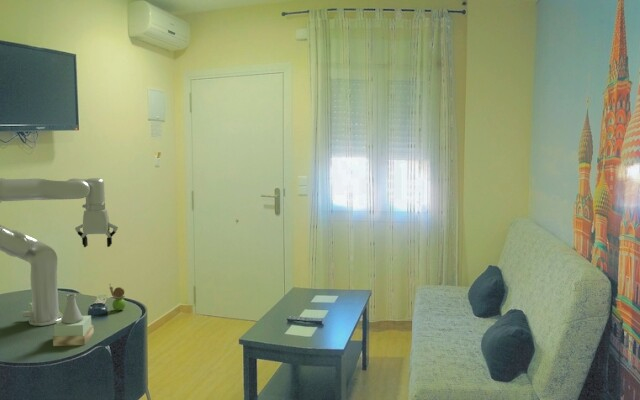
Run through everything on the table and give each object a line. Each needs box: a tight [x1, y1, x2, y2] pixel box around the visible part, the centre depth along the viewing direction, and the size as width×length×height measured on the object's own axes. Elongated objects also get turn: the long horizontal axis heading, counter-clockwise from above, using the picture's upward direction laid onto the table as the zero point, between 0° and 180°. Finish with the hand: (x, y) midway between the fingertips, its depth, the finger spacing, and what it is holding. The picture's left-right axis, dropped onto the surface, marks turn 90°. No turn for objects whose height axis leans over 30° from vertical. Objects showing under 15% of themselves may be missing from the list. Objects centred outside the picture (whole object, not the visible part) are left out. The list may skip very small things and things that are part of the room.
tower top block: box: [53, 315, 92, 337], centre depth 196 cm, size 10×10×4 cm
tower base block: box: [52, 324, 95, 347], centre depth 197 cm, size 11×11×4 cm
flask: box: [61, 293, 83, 324], centre depth 195 cm, size 7×7×10 cm
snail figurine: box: [108, 283, 126, 312], centre depth 228 cm, size 5×6×12 cm
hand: (97, 246), depth 226 cm, fingers open, 9 cm apart
